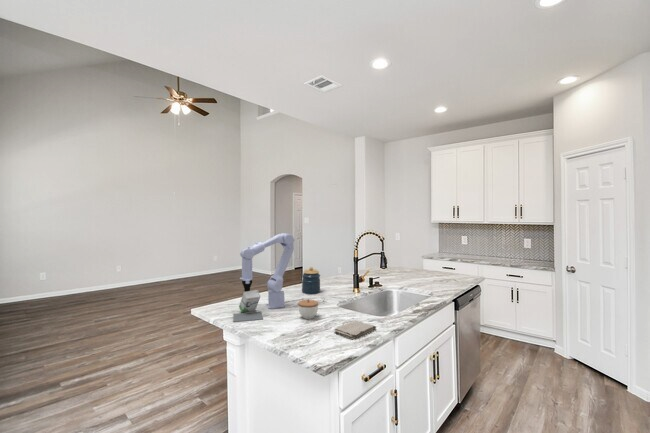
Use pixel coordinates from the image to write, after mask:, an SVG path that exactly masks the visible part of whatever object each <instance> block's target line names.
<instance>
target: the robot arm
mask: <svg viewBox="0 0 650 433" xmlns="http://www.w3.org/2000/svg"><path fill="white" fill-rule="evenodd" d="M294 243H295V238H294V236H293V234H291V233H285V232H280V233H279V234H276V235H274V236H272V237H270V238H269V239H267V240H265V241H264V242H260V241H257V242H255V244H252V245H249V246H247V248H246V247H245V248H243V249H242V250H241V251H240V253H239V255H240V257H241V277H239V280H242V281H241V283H242V287H243V289H244V292H246V291H251V287H252V284H253V278H254V277H253V258H254V257H255V256H257V255H259V254H260V253H263V252H264V251H265V248H268V247H270V246H273V245H275V244H280V245H281V246H282V248H283V251H282V254H281V256H280V258H279V261H278V264H277V266H276V268H275V271H274V273H273V274H272V275H271V276H270V278H269V279H268V280H267V281H266V287H267V289H268V292H267V293H268V296H267V297H268V298H267V299H268V300H267V301H268V303H267V308H268V309H278V308H285V307H286V306H285V302H286V301H285V292H284V290H283V287H284V286H283V285H284V284H283V283H284V274H285V272H286V270H287V267H288V265H289V263H290V260H291V258H292V255H293V252H294V251H295V250H294V245H295V244H294Z"/></svg>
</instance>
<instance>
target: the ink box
mask: <svg viewBox="0 0 650 433" xmlns="http://www.w3.org/2000/svg"><path fill="white" fill-rule="evenodd" d="M240 299H241V300H240V301H239V305H238V309H239V310H240V313H249V312H255V311H256V309H257V308H258V304H259V302H260V299H261V294H260V291H259V289H257V290H256V289H255V290H250V291H246V292H245V291H243V294H242V297H241V298H240Z"/></svg>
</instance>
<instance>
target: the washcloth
mask: <svg viewBox="0 0 650 433" xmlns="http://www.w3.org/2000/svg"><path fill="white" fill-rule="evenodd" d="M376 329H377V327H376V325H374V324H373V325H372V324H370V323H364V322H362V321H358V320H355V321H351V322H349V323H345V324H343V325H341V326H338V327H335V329H334V334H336V335H338V336H340V337H343V338H345V339H348V340H356V339H359V338H362V337H363V336H365V335H367V334H370V333H372V332H375V331H376ZM371 331H372V332H371ZM369 332H370V333H369Z"/></svg>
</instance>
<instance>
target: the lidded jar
mask: <svg viewBox="0 0 650 433" xmlns="http://www.w3.org/2000/svg"><path fill="white" fill-rule="evenodd" d="M297 304H298V307H297V308H298V312H299V315H300V316H301V317H302V318H303V319H306V320H310V319H311V320H312V319H314V318H315V317H316V316H317V314H318V310H319V302H318V301H317V300H314V299H310V298H309V299H303V300H300V301H298V303H297Z"/></svg>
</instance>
